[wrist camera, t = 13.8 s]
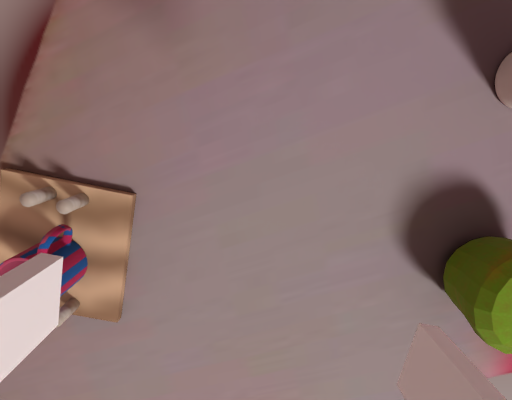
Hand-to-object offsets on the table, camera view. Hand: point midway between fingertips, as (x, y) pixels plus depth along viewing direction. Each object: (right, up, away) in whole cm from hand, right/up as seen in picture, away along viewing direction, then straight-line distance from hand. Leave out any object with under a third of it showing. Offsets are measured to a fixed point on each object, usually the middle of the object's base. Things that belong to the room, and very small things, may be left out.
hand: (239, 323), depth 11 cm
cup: (-23, -2, +29) cm, 37 cm away
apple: (+30, -5, +31) cm, 43 cm away
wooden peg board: (-24, -2, +30) cm, 38 cm away
